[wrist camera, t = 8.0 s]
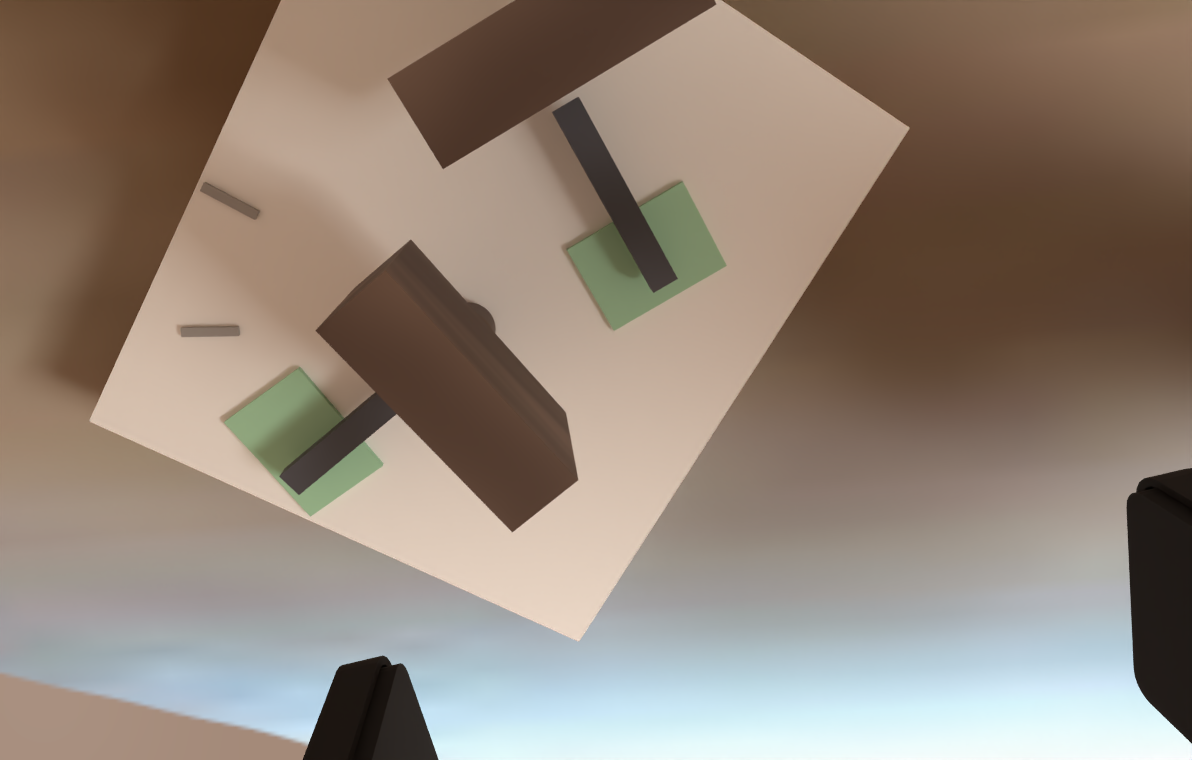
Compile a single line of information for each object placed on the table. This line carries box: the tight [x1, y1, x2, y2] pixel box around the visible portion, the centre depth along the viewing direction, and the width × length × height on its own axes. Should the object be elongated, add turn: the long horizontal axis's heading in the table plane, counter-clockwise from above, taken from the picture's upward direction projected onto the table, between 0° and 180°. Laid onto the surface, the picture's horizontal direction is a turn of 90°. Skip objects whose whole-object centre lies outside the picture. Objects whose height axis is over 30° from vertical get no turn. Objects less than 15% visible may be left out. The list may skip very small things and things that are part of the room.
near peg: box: [388, 0, 717, 293], centre depth 23 cm, size 9×7×8 cm
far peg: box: [279, 239, 578, 532], centre depth 25 cm, size 9×7×8 cm
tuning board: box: [89, 0, 909, 642], centre depth 30 cm, size 19×22×3 cm
